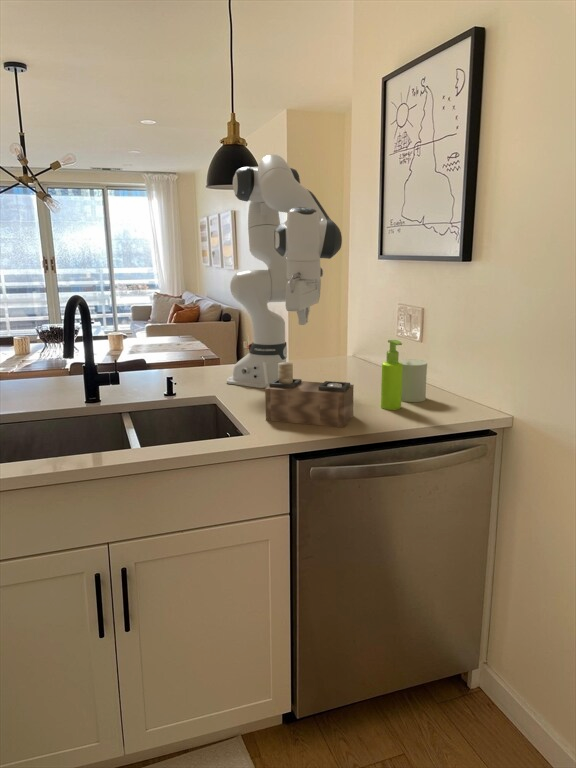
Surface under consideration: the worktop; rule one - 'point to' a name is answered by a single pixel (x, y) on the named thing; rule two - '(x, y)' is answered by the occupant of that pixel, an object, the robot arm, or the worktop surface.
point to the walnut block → (309, 403)
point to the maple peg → (285, 372)
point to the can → (413, 380)
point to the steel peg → (334, 385)
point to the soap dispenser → (391, 379)
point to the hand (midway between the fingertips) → (303, 324)
